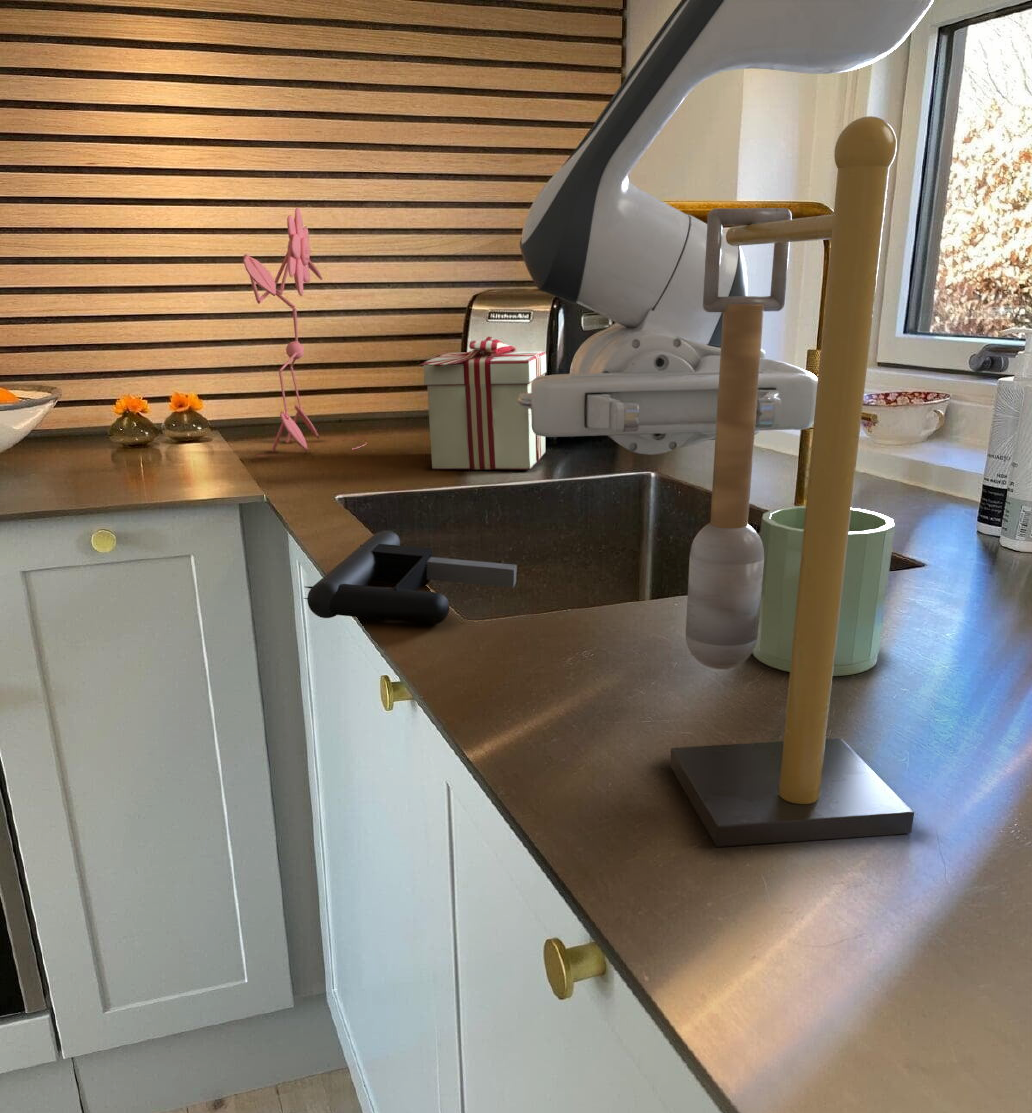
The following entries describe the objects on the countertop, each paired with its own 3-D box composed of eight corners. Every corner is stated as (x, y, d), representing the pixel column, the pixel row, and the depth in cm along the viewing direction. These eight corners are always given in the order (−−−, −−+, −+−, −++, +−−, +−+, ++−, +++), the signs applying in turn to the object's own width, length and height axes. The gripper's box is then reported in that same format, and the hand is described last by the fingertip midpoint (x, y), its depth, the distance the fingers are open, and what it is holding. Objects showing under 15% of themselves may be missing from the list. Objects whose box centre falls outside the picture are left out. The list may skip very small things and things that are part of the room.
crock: (846, 632, 80) (861, 503, 77) (898, 673, 72) (917, 531, 69) (735, 637, 80) (745, 507, 76) (776, 679, 71) (788, 536, 68)
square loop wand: (743, 653, 68) (777, 210, 58) (766, 677, 64) (807, 205, 54) (674, 656, 67) (696, 210, 57) (693, 681, 63) (720, 206, 53)
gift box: (427, 452, 161) (423, 335, 155) (547, 453, 160) (547, 334, 153) (406, 472, 145) (400, 343, 139) (538, 473, 144) (538, 342, 137)
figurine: (251, 461, 156) (225, 203, 143) (292, 435, 180) (273, 212, 167) (353, 460, 155) (336, 201, 142) (381, 434, 179) (368, 211, 166)
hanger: (778, 691, 69) (826, 157, 58) (911, 833, 52) (1021, 108, 40) (630, 699, 68) (649, 157, 56) (716, 847, 51) (769, 106, 39)
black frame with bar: (526, 540, 98) (361, 525, 100) (489, 603, 80) (288, 584, 82) (524, 574, 100) (362, 559, 102) (487, 643, 81) (289, 623, 83)
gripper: (514, 353, 78) (539, 369, 65) (779, 347, 80) (854, 361, 67) (515, 439, 80) (540, 471, 67) (773, 431, 82) (844, 460, 69)
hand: (699, 416), depth 67 cm, fingers open, 8 cm apart
